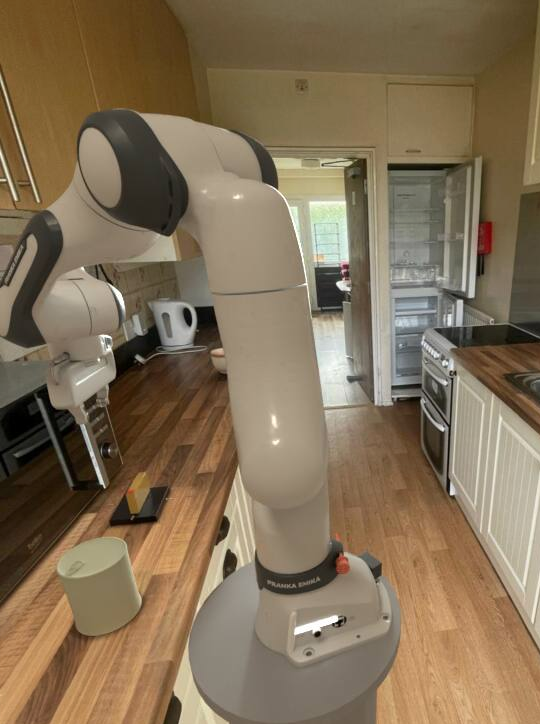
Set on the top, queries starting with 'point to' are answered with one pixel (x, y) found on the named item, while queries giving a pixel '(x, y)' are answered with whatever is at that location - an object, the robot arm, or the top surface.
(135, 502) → the lock turn
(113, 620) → the can
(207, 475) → the top surface
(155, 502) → the lock plate
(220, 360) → the lidded bowl
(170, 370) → the top surface
